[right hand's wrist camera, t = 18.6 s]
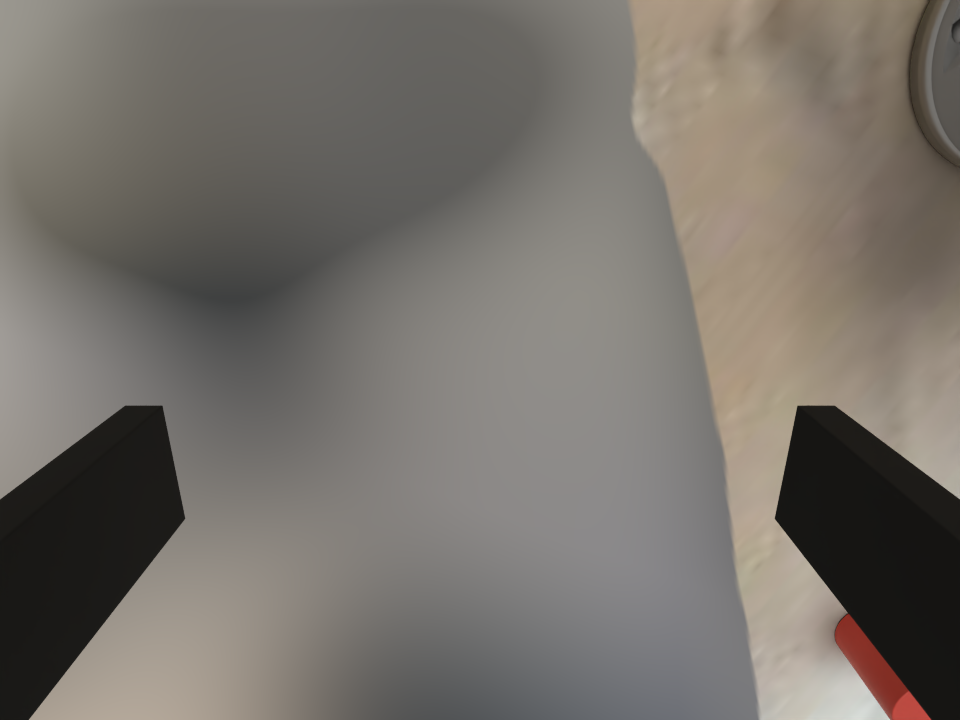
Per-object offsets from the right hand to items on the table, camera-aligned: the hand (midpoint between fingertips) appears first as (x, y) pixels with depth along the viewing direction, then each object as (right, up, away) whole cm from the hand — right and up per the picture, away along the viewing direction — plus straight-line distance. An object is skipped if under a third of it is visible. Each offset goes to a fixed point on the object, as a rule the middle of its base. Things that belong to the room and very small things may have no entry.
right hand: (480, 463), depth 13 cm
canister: (+34, -21, +40) cm, 56 cm away
